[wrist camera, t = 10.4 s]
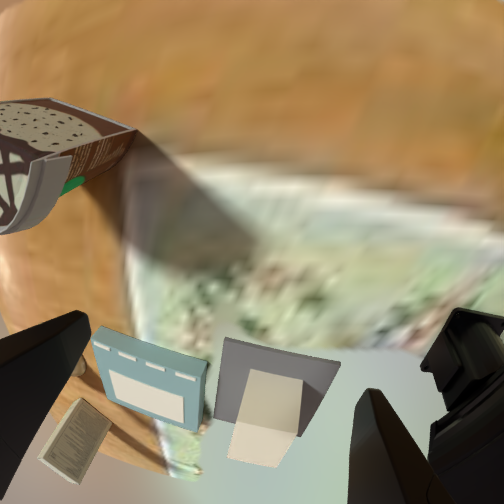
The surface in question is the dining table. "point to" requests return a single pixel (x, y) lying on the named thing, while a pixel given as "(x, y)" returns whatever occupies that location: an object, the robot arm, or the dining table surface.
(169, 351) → the ticket book
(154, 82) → the dining table surface
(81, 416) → the skincare box
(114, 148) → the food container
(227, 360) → the mat
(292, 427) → the stub
